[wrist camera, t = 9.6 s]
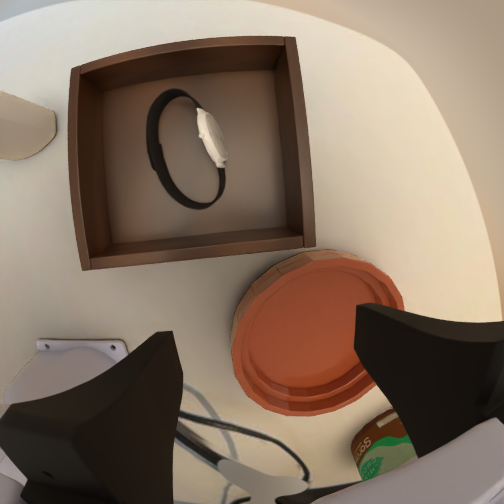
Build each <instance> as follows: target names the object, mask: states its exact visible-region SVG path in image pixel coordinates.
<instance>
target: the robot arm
mask: <svg viewBox="0 0 504 504" xmlns="http://www.w3.org/2000/svg"><path fill="white" fill-rule="evenodd" d="M47 344H48V345H49V346H48V345H47ZM112 345H114V346H115V347H116V348H113V347H112ZM36 346H37V349H38V352H37V353H36V354H35V355H34V357H33V358H32V359H31V360H30V361H29V362H28V363H27V364H26V365H25V366H24V367H23V368H22V370H21V371H20V372H19V373H18V374H17V375H16V376H15V377H14V379H13V380H12V381H11V382H10V383H9V385H8V386H7V388H6V391H5V394H4V400H3V404H2V405H1V406H0V504H173V446H174V438H175V432H176V427H177V421H178V416H179V411H180V405H181V400H182V393H183V371H182V367H181V364H180V360H179V356H178V352H177V348H176V344H175V340H174V335H173V331H163V332H156V333H155V334H153V335H152V336H151V337H149V338H148V339H147V340H146V341H145V342H143V343H142V344H141V345H140V346H138V347H137V348H136V349H135V350H134V351H132V352H131V353H130V354H129V355H128V353H127V349H126V346H125V344H124V343H123V342H122V341H120V340H44V339H39V340H37V341H36ZM354 350H355V352H356V354H357V356H358V358H359V360H360V362H361V364H362V365H363V367H364V368H365V370H366V371H367V372H368V374H369V375H370V376H371V378H372V379H373V380H374V382H375V383H376V384H377V386H378V387H379V388H380V390H381V391H382V392H383V394H384V395H385V396H386V398H387V399H388V400H389V402H390V403H391V405H392V406H393V408H394V409H395V411H396V413H397V415H398V417H399V418H400V420H401V422H402V424H403V426H404V428H405V430H406V432H407V434H408V436H409V438H410V440H411V443H412V445H413V447H414V450H415V452H416V455H417V457H418V459H417V460H415V461H413V462H410V463H408V464H406V465H404V466H402V467H399V468H397V469H395V470H392V471H390V472H388V473H385V474H383V475H380V476H378V477H375V478H372V479H369V480H367V481H364V482H361V483H358V484H355V485H353V486H350V487H348V488H345V489H343V490H340V491H338V492H335V493H333V494H330V495H327V496H324V497H322V498H319V499H317V500H316V501H314V502H312V503H310V504H504V321H500V322H486V323H471V322H455V321H447V320H440V319H435V318H430V317H426V316H421V315H417V314H413V313H410V312H406V311H402V310H399V309H395V308H392V307H388V306H385V305H381V304H376V303H364V304H359V305H356V318H355V335H354Z"/></svg>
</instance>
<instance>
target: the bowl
mask: <svg viewBox="0 0 504 504" xmlns="http://www.w3.org/2000/svg"><path fill="white" fill-rule="evenodd" d="M364 303H376V304H381V305H385V306H388V307H392V308H395V309H399V310H402V311H404V305H403V299H402V296H401V294H400V293H399V291H398V289H397V288H396V286H395V284H394V283H393V281H392V279H391V278H390V277H389V276H388V275H386V274H385V273H383V272H382V271H381V270H379V269H378V268H376V267H375V266H374V265H372V264H371V263H369V262H367V261H365V260H363V259H361V258H359V257H357V256H355V255H352V254H348V253H343V252H339V251H335V250H321V251H312V252H303V253H300V254H298V255H296V256H293V257H291V258H289V259H286V260H284V261H282V262H280V263H277V264H275V265H274V266H273V267H271V268H270V269H269V270H268V271H267V272H266V273H264V274H263V275H262V276H261V277H260V278H259V279H257V280H256V281H255V282H254V283H253V284H252V285H251V286H250V288H249V289H248V291H247V292H246V294H245V296H244V297H243V299H242V300H241V302H240V304H239V305H238V307H237V309H236V311H235V315H234V319H233V324H232V328H231V332H230V341H231V353H232V360H233V367H234V374H235V377H236V379H237V380H238V382H239V384H240V385H241V387H242V389H243V390H244V392H245V393H246V395H247V396H248V397H249V398H251V399H252V400H253V401H255V402H256V403H257V404H259V405H260V406H262V407H263V408H264V409H266V410H269V411H272V412H276V413H279V414H282V415H285V416H316V415H320V414H324V413H329V412H333V411H336V410H338V409H340V408H342V407H344V406H346V405H348V404H350V403H353V402H355V401H356V400H358V399H359V398H361V397H362V396H363V395H364V394H366V393H367V392H368V391H369V390H371V389H372V388H373V387H374V386H376V385H377V384H376V383H375V382H374V380H373V379H372V378H371V376H370V375H369V374H368V372H367V371H366V370H365V368H364V367H363V365H362V364H361V362H360V360H359V358H358V356H357V354H356V352H355V350H354V335H355V318H356V305H359V304H364Z"/></svg>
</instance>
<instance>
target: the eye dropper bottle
mask: <svg viewBox="0 0 504 504" xmlns="http://www.w3.org/2000/svg"><path fill="white" fill-rule="evenodd" d="M55 133H56V124H55V114H54V112H53V111H51V110H49V109H47V108H44V107H42V106H39V105H37V104H34V103H32V102H29V101H27V100H24V99H22V98H19V97H16V96H14V95H11V94H8V93H5V92H2V91H0V159H4V160H20V159H24V158H27V157H30V156H32V155H34V154H35V153H37V152H38V151H40V150H41V149H42V148H44V147H45V146H46V145H47V144H48V143H49V142H50V141H51V140H52V139H53V137H54V136H55Z"/></svg>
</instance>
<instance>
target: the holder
mask: <svg viewBox="0 0 504 504" xmlns="http://www.w3.org/2000/svg"><path fill="white" fill-rule="evenodd" d="M171 88H178V89H182V90H184V91H186V92H187V93H189V94H190V95H191V96H192V97H193V98H194V99H195V100H197V101H198V103H199V104H200V105H201V106H202V108H203V109H204V111H205V112H208V113H209V114H210V115H211V116H212V117H213V118H214V120H215V121H216V123H217V125H218V127H219V129H220V131H221V134H222V136H223V139H224V142H225V145H226V150H227V157H228V158H227V160H226V161H224V164H225V167H224V168H225V175H226V182H225V189H224V192H223V194H222V196H221V197H220V198H219V199H218V200H217V201H216V202H215V203H214V204H212V205H211V206H210V207H208V208H206V209H201V210H196V209H190V208H187V207H185V206H183V205H181V204H180V203H178V202H177V201H175V200H174V199H173V198H172V197H171V196H170V195H169V194H168V193H167V191H166V190H165V188H164V187H163V186H162V184H161V182H160V180H159V178H158V176H157V173H156V171H154V170H153V169H152V167H151V164H150V160H149V156H148V153H147V145H146V121H147V115H148V112H149V109H150V107H151V105H152V103H153V102H154V100H155V99H156V98H157V97H158V96H159V95H160V94H161V93H162V92H164V91H166V90H168V89H171ZM197 115H198V112H197V110H196V107H195V105H194V103H193V101H192V100H191V99H190V98H188V97H178V98H175V99H173V100H172V101H170V102H169V103H168V104H167V105H166V106H165V108H164V110H163V111H162V113H161V115H160V118H159V123H158V138H159V144H161V146H162V152H163V158H164V161H165V164H166V167H167V170H168V172H169V175H170V177H171V179H172V181H173V182H174V184H175V185H176V187H177V188H178V189H179V190H180V192H181V193H182V194H183V195H185V196H186V197H187V198H189V199H191V200H193V201H195V202H199V203H208V202H212V201H213V200H214V199H215V197H216V195H217V193H218V189H219V175H218V171H217V166H216V163H215V162H214V161H213V160H212V158H211V157H210V155H209V153H208V152H207V150H206V147H205V145H204V143H203V140H202V138H200V137H199V134H200V133H199V129H198V124H197ZM68 165H69V181H70V193H71V203H72V212H73V220H74V227H75V234H76V240H77V246H78V252H79V257H80V262H81V267H82V270H83V271H86V270H92V269H93V270H95V269H105V268H115V267H125V266H134V265H144V264H154V263H164V262H174V261H183V260H193V259H203V258H212V257H222V256H232V255H241V254H251V253H261V252H270V251H280V250H290V249H299V248H303V247H304V248H309V247H315V246H316V236H315V214H314V197H313V182H312V169H311V157H310V146H309V136H308V126H307V117H306V108H305V100H304V92H303V84H302V77H301V70H300V63H299V56H298V50H297V44H296V38H295V37H286V36H285V37H283V36H235V37H218V38H206V39H197V40H188V41H181V42H174V43H168V44H162V45H156V46H151V47H146V48H141V49H137V50H132V51H128V52H124V53H120V54H116V55H112V56H109V57H105V58H102V59H99V60H95V61H92V62H89V63H86V64H83V65H81V66H77V67H74V68H72V69H71V76H70V87H69V103H68Z"/></svg>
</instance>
